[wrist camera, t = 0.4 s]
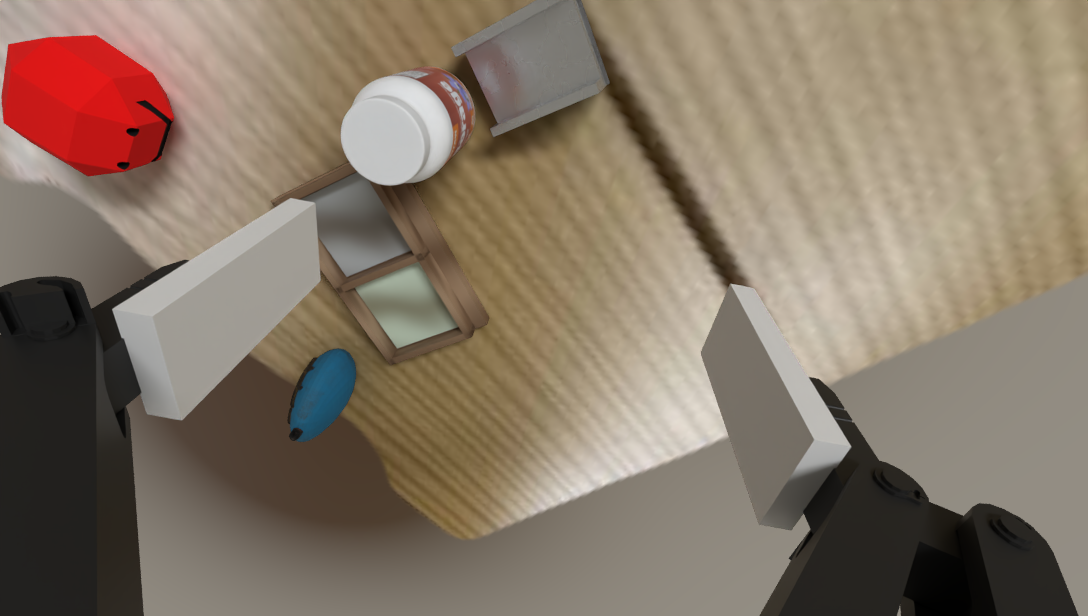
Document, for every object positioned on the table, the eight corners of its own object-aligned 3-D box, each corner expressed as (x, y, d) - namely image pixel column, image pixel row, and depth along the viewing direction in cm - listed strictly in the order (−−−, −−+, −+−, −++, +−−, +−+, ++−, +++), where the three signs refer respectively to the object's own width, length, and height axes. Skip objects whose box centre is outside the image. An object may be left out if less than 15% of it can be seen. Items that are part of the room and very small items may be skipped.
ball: (172, 172, 40) (93, 203, 34) (70, 109, 38) (-35, 128, 32) (201, 89, 37) (118, 105, 30) (90, 13, 35) (-24, 13, 28)
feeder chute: (461, 45, 34) (443, 49, 30) (575, -16, 32) (574, -21, 27) (500, 128, 37) (488, 143, 32) (608, 78, 34) (611, 87, 30)
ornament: (325, 325, 47) (268, 394, 39) (372, 342, 48) (326, 414, 39) (312, 386, 51) (258, 460, 43) (355, 401, 52) (310, 477, 43)
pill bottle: (483, 150, 38) (448, 196, 28) (405, 157, 38) (346, 204, 29) (469, 60, 34) (424, 77, 25) (384, 69, 35) (310, 88, 26)
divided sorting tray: (278, 196, 41) (260, 207, 38) (388, 142, 38) (375, 150, 35) (390, 352, 48) (380, 369, 46) (489, 317, 45) (484, 333, 43)
